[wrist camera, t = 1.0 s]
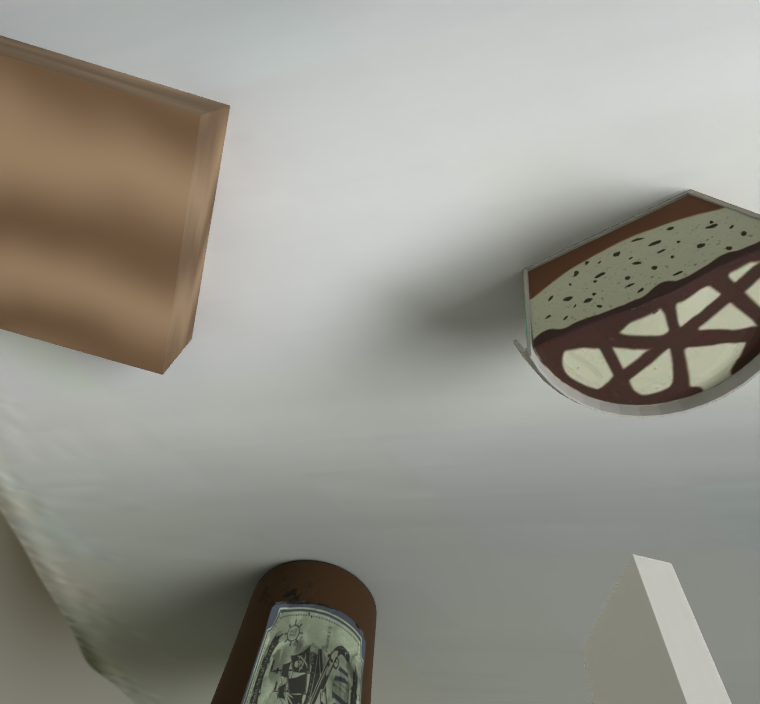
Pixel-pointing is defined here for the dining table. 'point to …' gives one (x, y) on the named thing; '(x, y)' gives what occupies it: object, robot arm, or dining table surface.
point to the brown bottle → (303, 640)
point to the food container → (650, 310)
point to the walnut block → (103, 206)
